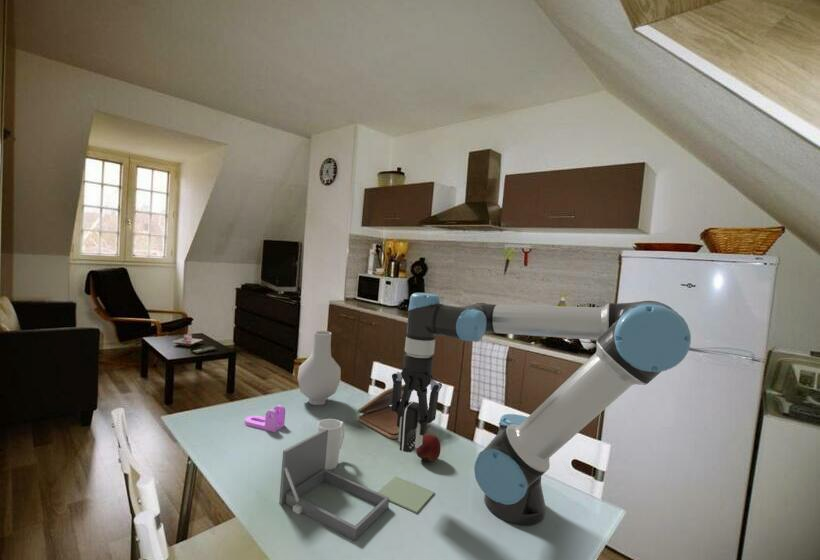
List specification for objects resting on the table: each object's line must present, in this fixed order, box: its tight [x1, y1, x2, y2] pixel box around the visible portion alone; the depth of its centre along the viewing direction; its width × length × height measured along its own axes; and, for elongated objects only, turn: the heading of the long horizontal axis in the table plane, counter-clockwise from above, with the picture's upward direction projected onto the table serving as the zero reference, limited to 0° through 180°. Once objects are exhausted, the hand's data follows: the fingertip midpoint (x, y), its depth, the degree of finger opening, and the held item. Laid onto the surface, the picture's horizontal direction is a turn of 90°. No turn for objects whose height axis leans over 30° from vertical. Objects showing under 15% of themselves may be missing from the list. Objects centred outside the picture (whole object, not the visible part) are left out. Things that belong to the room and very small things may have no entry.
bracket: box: [244, 404, 286, 433], centre depth 134 cm, size 13×6×7 cm, turn 74°
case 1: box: [278, 429, 390, 541], centre depth 96 cm, size 22×15×13 cm
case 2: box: [356, 384, 431, 440], centre depth 145 cm, size 20×21×16 cm
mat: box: [377, 475, 435, 514], centre depth 103 cm, size 12×10×1 cm
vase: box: [297, 330, 342, 406], centre depth 157 cm, size 17×16×28 cm
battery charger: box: [399, 400, 420, 453], centre depth 102 cm, size 7×4×11 cm, turn 159°
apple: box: [415, 433, 442, 462], centre depth 121 cm, size 7×8×8 cm
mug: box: [316, 418, 346, 471], centre depth 114 cm, size 10×7×12 cm, turn 149°
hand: (410, 442), depth 102 cm, fingers closed on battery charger, 4 cm apart
